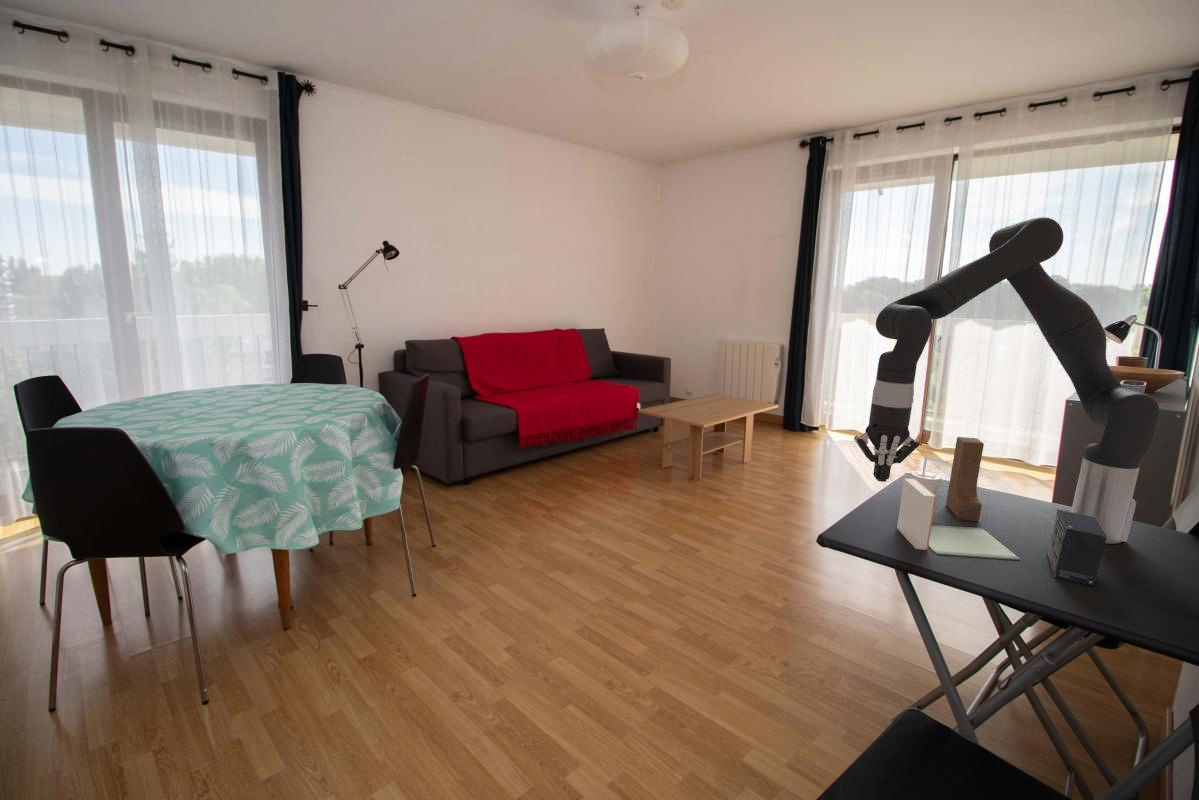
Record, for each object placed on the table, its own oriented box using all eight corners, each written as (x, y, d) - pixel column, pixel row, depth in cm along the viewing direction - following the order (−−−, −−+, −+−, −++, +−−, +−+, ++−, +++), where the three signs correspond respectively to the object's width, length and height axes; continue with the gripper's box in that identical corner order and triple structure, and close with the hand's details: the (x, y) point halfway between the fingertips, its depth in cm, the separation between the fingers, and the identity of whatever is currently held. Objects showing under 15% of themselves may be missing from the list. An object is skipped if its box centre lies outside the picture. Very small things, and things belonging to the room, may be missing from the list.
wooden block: (979, 522, 131) (992, 448, 127) (957, 519, 132) (970, 447, 128) (965, 507, 139) (977, 437, 135) (945, 504, 140) (956, 436, 136)
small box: (1097, 588, 103) (1109, 536, 101) (1052, 577, 107) (1063, 527, 104) (1086, 564, 112) (1097, 515, 110) (1045, 555, 116) (1055, 508, 113)
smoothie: (910, 504, 140) (918, 451, 137) (938, 512, 136) (947, 457, 132) (901, 511, 136) (909, 457, 132) (930, 520, 131) (939, 463, 128)
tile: (907, 528, 127) (915, 478, 124) (927, 549, 117) (936, 496, 114) (896, 528, 127) (904, 478, 124) (915, 548, 117) (924, 495, 115)
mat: (982, 529, 127) (982, 528, 127) (1019, 560, 113) (1020, 558, 113) (907, 524, 128) (908, 523, 128) (936, 554, 115) (936, 553, 115)
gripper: (917, 399, 119) (905, 476, 123) (853, 396, 120) (843, 472, 124) (933, 407, 112) (920, 488, 116) (864, 404, 113) (854, 484, 117)
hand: (880, 480), depth 120 cm, fingers closed
